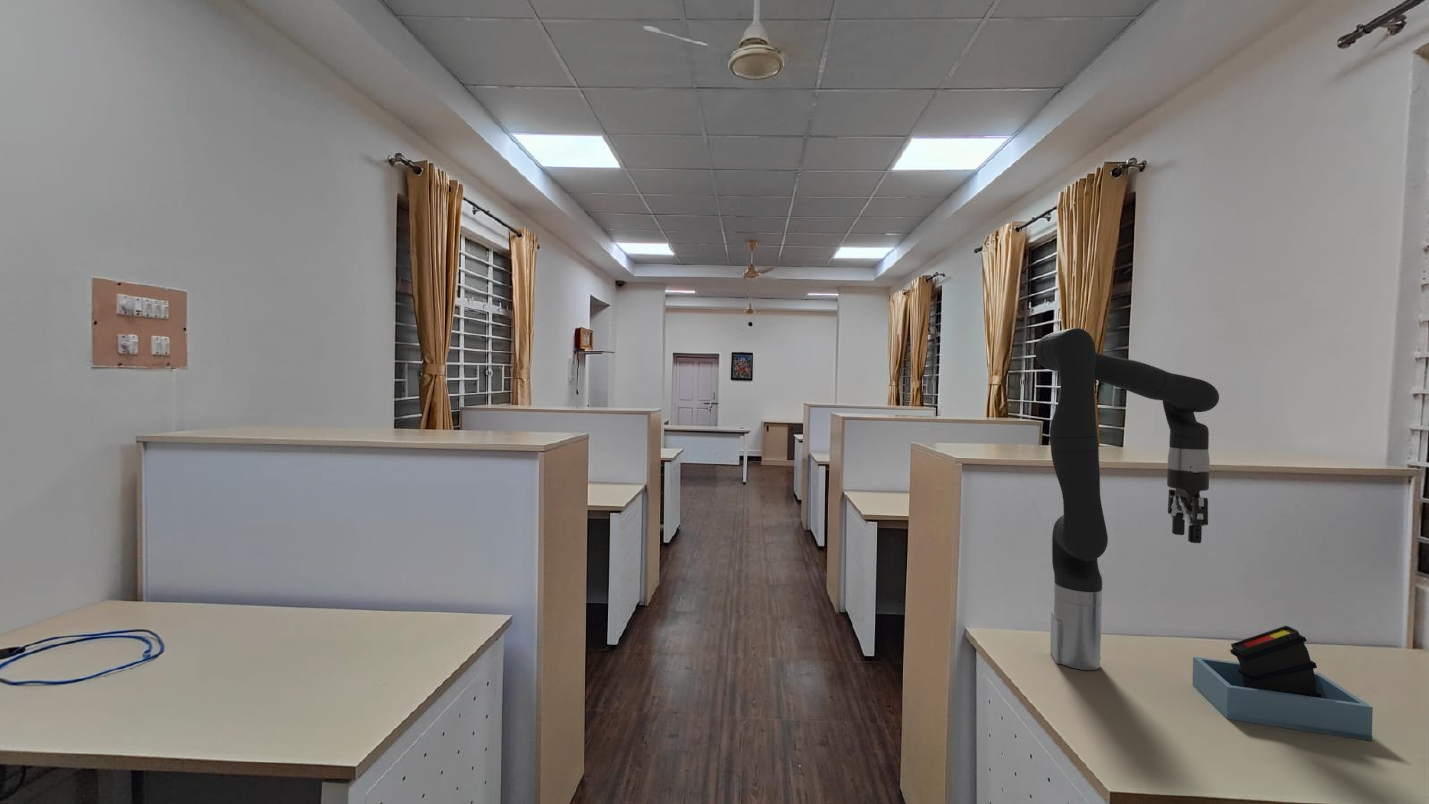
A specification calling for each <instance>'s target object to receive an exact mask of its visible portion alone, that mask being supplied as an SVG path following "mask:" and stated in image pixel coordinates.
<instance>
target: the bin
mask: <svg viewBox="0 0 1429 804" xmlns="http://www.w3.org/2000/svg"><path fill="white" fill-rule="evenodd" d="M1240 668H1241V667H1240V663H1239V661H1237V662H1236V661H1230V660H1223V659H1222V660H1221V659H1213V658H1207V657H1199V656H1193V657H1192V683H1191V684H1192V686H1193V687H1194V688H1195V689H1196V690H1197V691H1198V692H1199V693H1200V694H1201V696H1203V697H1204V698H1205V699H1206V700H1207V701H1208V702H1209V703H1210V704H1211V706H1213V707H1214V708H1215V709H1216V710H1217V711H1218V712H1219V714H1221V715H1222V716H1223V717H1224V718H1225V719H1226V720H1231V721H1238V722H1244V723H1245V722H1246V723H1251V724H1256V725H1257V724H1258V725H1264V726H1270V727H1275V728H1276V727H1277V728H1284V729H1290V730H1296V731H1303V732H1309V733H1315V734H1320V735H1321V734H1322V735H1329V736H1334V737H1335V736H1336V737H1341V738H1342V737H1343V738H1348V739H1354V740H1361V741H1367V742H1372V741H1373V709H1374V707H1373V706H1372V705H1370V704H1368V703H1367V702H1365V701H1364V700H1362V699H1361V698H1359V697H1357V696H1356V695H1354V694H1353V693H1351V692H1350V691H1349V690H1347V689H1345V688H1344V687H1342V686H1341V685H1339V684H1337V683H1336V682H1334V681H1333V680H1331V679H1330V678H1329V677H1326V676H1325V675H1324V674H1322V673H1321V672H1315V671H1314V674H1315V679H1316V688H1317V692H1319V693H1320V694H1321V698H1317V697H1310V696H1303V695H1296V694H1289V693H1282V692H1274V691H1267V690H1260V689H1253V688H1246V687H1240V686H1244V684H1243V675H1242V674H1241V673H1239V672H1238V669H1240Z"/></svg>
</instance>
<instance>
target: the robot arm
mask: <svg viewBox="0 0 1429 804" xmlns="http://www.w3.org/2000/svg"><path fill="white" fill-rule="evenodd" d="M1034 349H1035V350H1034V353H1035V354H1034V355H1035V358H1036V360H1037V362H1038V363H1039V364H1040V365H1041V366H1042V367H1043V368H1045V369H1046V370H1049V371H1053V372H1059V383H1060V391H1059V392H1060V394H1059V398H1058V399H1059V400H1058V402H1057V405H1056V408H1055V411H1054V413H1053V416H1052V419H1051V423H1050V428H1049V437H1050V438H1049V441H1050V442H1049V443H1050V454H1051V459H1052V464H1053V468H1054V472H1055V474H1056V478H1057V480H1058V484H1059V487H1060V490H1061V495H1062V502H1063V503H1062V504H1063V515H1061V516H1060V517H1058V518H1057V519H1056V521H1055V523H1054V525H1053V528H1052V535H1051V536H1052V537H1051V547H1052V548H1051V551H1052V552H1051V553H1052V554H1051V556H1052V558H1051V561H1052V562H1051V563H1052V570H1053V575H1054V581H1053V582H1054V588H1053V589H1054V591H1053V593H1054V594H1053V612H1051V614H1050V645H1049V646H1050V647H1049V648H1050V650H1049V653H1050V655H1051V657H1052V658H1053V660H1054V662H1055V664H1058V665H1059V664H1060V665H1062V666H1063V665H1064V666H1066V667H1069V668H1072V669H1076V670H1083V671H1096V670H1099V669H1100V668H1101V661H1102V660H1101V659H1102V658H1101V657H1102V656H1101V645H1102V644H1101V643H1102V609H1103V608H1102V607H1103V606H1102V605H1103V578H1102V574H1101V571H1100V569H1099V565H1098V564H1099V563H1098V558H1100V557H1102V555H1103V554H1104V553H1105V552H1106V550H1107V547H1108V544H1109V543H1108V542H1109V536H1108V531H1107V525H1106V520H1105V516H1104V511H1103V505H1102V501H1101V499H1102V497H1101V474H1100V455H1099V454H1100V453H1099V452H1100V451H1099V440H1098V439H1099V437H1098V428H1097V419H1096V417H1097V416H1096V399H1095V385H1096V383H1095V381H1098V382H1101V383H1104V384H1108V385H1111V386H1114V387H1116V388H1120V389H1122V390H1125V391H1128V392H1130V393H1133V394H1136V395H1138V396H1141V397H1143V398H1147V399H1149V400H1155V401H1162V406H1163V409H1164V411H1163V412H1164V414H1165V418H1166V421H1167V424H1168V429H1169V449H1168V454H1167V475H1166V476H1167V477H1166V478H1167V479H1166V480H1167V481H1166V484H1167V485H1166V486H1167V487H1168V488H1170V489H1168V500H1167V502H1168V503H1167V513H1168V514H1169V515H1170V517H1171V520H1172V521H1171V522H1172V523H1171V524H1172V525H1171V526H1172V527H1171V529H1172V530H1171V532H1172V534H1173V535H1176V536H1177V535H1178V536H1183V535H1185V527H1186V526H1185V525H1186V523H1185V522H1186V520H1185V518H1186V519H1187V523H1188V528H1187V529H1188V530H1187V531H1188V533H1187V534H1188V536H1187V537H1188V538H1187V541H1188V542H1189V543H1192V544H1201V543H1202V535H1203V534H1202V533H1203V527H1204V526H1208V525H1209V499H1208V498H1207V497H1201V494H1200V493H1201V491H1202V492H1203V491H1204V492H1206V491H1208V490H1209V488H1210V464H1211V463H1210V455H1209V454H1210V453H1209V443H1210V442H1209V441H1210V440H1209V437H1210V432H1209V428H1208V426H1207V425H1205V424H1204V423H1201V422H1198V420H1197V419H1196V415H1195V413H1203V412H1208V411H1210V410H1213V409H1214V408H1215V407H1216V406H1217V405H1218V403H1219V401H1220V394H1219V391H1218V390H1217V388H1216V387H1215V386H1214V385H1213V384H1212V383H1210V382H1208V381H1206V380H1203V379H1200V378H1196V377H1191V376H1187V375H1183V374H1179V373H1174V372H1173V373H1172V372H1168V371H1166V370H1165V369H1161V368H1159V367H1156V366H1153V365H1150V364H1148V363H1145V362H1141V361H1137V360H1133V359H1129V358H1123V357H1118V356H1111V355H1107V354H1103V353H1098V352H1096V351H1097V350H1096V344H1095V341H1094V338H1093V337H1092V335H1091V334H1090V333H1089V332H1088V331H1087V330H1085V329H1083V328H1080V327H1073V328H1067V329H1063V330H1057V331H1053V332H1050V333H1049V334H1046V335H1044V336H1042V337H1041V338H1040V339H1038V342H1037V343H1036V346H1035V347H1034Z"/></svg>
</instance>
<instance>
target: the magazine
mask: <svg viewBox="0 0 1429 804" xmlns="http://www.w3.org/2000/svg"><path fill="white" fill-rule="evenodd" d="M1305 642H1308V640H1307V639H1306V637H1305V636H1303V635H1301V634H1300V631H1298V630H1297V629H1296V628H1293V627H1290V626H1289V625H1282V626H1281V627H1277V628H1275V629H1272V630H1271V629H1270V630H1269V631H1266V632H1263V633H1259V634H1257V635H1254V636H1250V637H1248V638H1245V639H1243V640H1239V641H1237V642H1233V643H1230V646H1231V648H1232V649H1229V651H1230V653H1231V655H1233V656H1235V657H1236V658H1237V660H1238V661H1237V662H1239V663H1240V667H1241V668H1240V669H1238V672H1239V673H1241V674H1242V675H1243V684H1244V686H1240V687H1246V688H1253V689H1260V690H1267V691H1274V692H1282V693H1289V694H1296V695H1303V696H1310V697H1317V698H1321V694H1320V693H1319V692H1317V688H1316V679H1315V674H1314V672H1315V671H1314V669H1317V668H1318V666H1317V663H1316V662H1315V661H1313V660H1311V657H1310V653H1309V651H1308V648H1307V646H1306V644H1305Z"/></svg>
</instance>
